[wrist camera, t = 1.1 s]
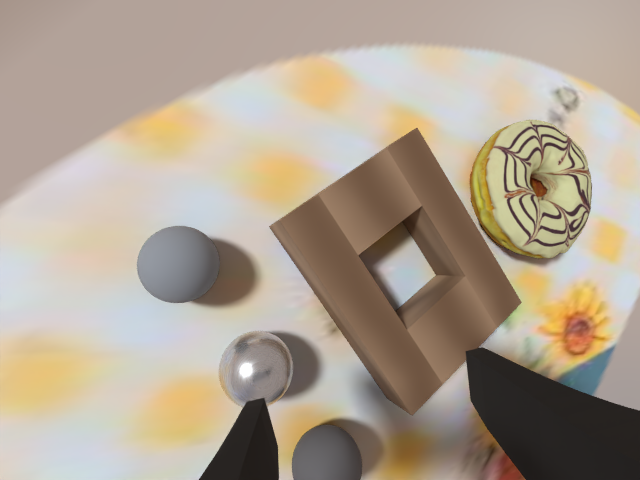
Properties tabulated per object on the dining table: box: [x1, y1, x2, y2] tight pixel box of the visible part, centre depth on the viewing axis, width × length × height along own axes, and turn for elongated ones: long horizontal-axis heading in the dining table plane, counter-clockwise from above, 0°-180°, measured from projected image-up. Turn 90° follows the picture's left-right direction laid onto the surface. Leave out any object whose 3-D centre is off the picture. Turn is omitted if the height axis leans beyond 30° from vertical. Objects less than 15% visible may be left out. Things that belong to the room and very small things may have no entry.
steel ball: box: [219, 331, 293, 407], centre depth 20 cm, size 4×4×4 cm
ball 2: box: [292, 425, 362, 480], centre depth 20 cm, size 4×4×4 cm
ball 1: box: [137, 226, 220, 303], centre depth 19 cm, size 4×4×4 cm
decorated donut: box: [470, 120, 592, 259], centre depth 28 cm, size 10×11×4 cm
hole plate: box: [269, 128, 522, 415], centre depth 24 cm, size 11×14×3 cm
